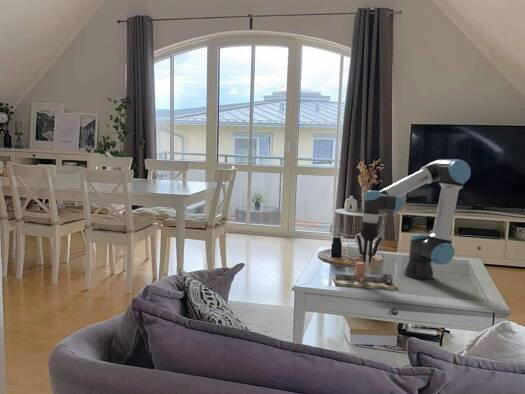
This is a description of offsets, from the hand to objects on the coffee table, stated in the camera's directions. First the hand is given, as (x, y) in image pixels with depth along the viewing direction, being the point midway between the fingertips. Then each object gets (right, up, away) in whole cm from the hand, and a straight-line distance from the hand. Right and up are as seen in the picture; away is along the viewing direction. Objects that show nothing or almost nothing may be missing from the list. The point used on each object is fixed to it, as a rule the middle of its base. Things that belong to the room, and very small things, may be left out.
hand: (365, 269), depth 240 cm
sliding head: (-3, -5, -1) cm, 6 cm away
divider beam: (-1, -7, -2) cm, 8 cm away
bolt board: (-1, -7, -2) cm, 8 cm away
